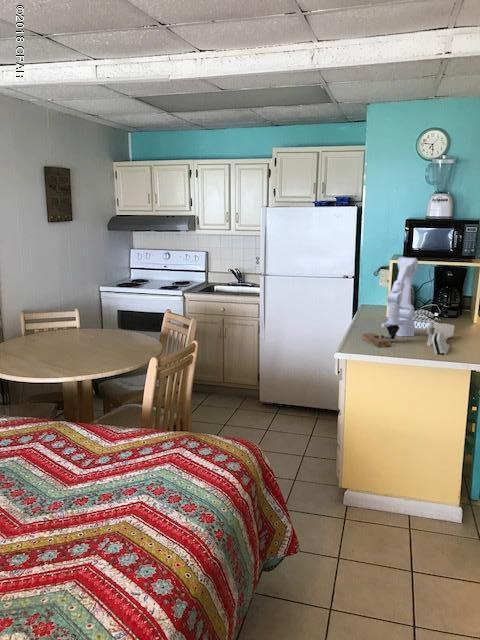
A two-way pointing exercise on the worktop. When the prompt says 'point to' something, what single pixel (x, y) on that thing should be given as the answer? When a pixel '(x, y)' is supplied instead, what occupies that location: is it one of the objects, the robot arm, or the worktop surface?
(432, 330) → the shelf bracket
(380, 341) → the brown u-shaped block
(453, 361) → the worktop surface
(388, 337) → the sage green cube
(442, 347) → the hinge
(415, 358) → the worktop surface
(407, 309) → the robot arm
